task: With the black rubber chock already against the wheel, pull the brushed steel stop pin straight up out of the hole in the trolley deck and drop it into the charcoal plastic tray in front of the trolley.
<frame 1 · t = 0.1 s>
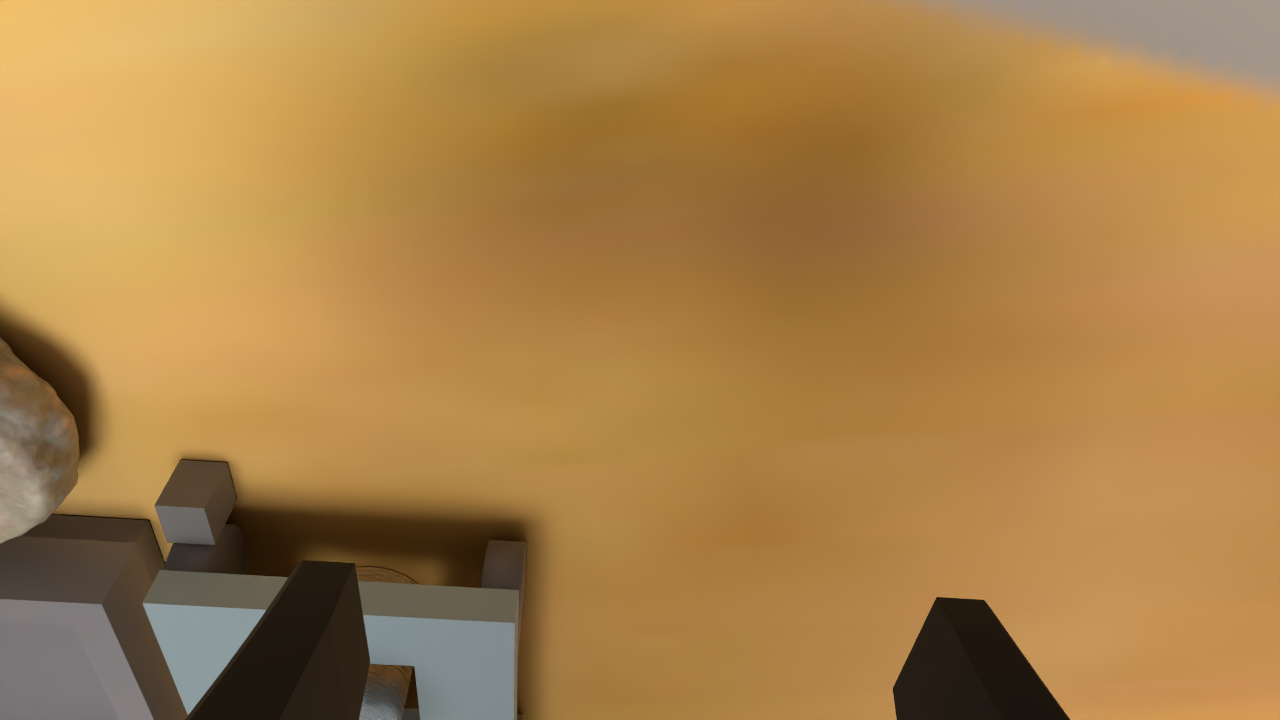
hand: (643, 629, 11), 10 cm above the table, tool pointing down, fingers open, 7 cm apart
trolley: (382, 637, 28), on the table
stop pin: (376, 598, 27), on the table
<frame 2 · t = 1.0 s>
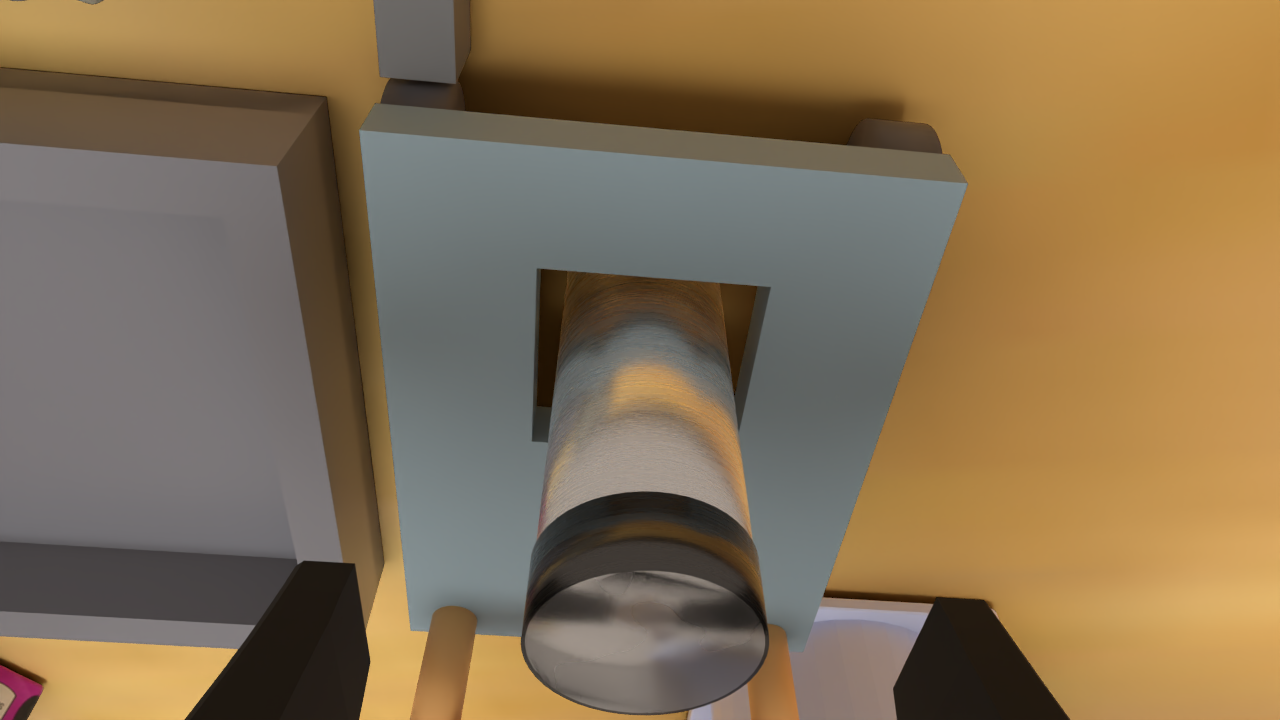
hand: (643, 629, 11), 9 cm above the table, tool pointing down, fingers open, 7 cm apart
trolley: (633, 343, 20), on the table
tray: (61, 355, 20), on the table
stop pin: (642, 265, 18), on the table
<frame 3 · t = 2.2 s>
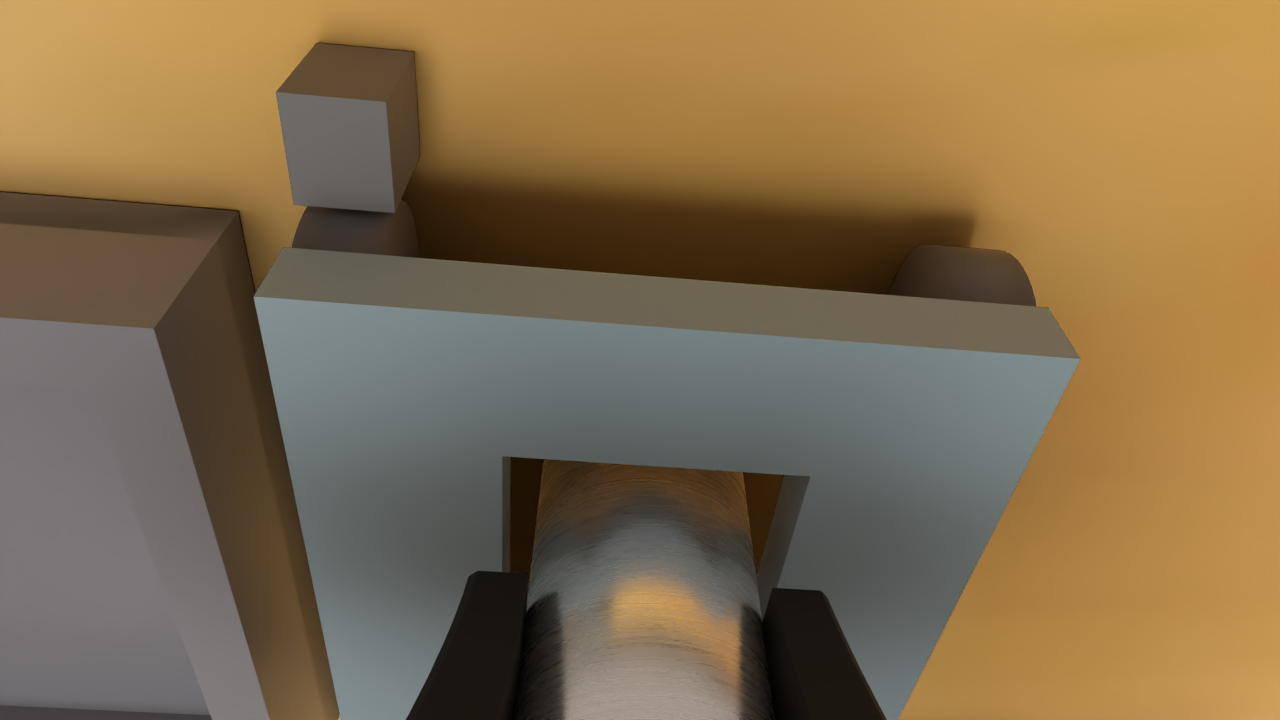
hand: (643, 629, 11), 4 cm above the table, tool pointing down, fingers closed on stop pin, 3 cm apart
trolley: (631, 486, 16), on the table
stop pin: (641, 401, 15), on the table, touching gripper
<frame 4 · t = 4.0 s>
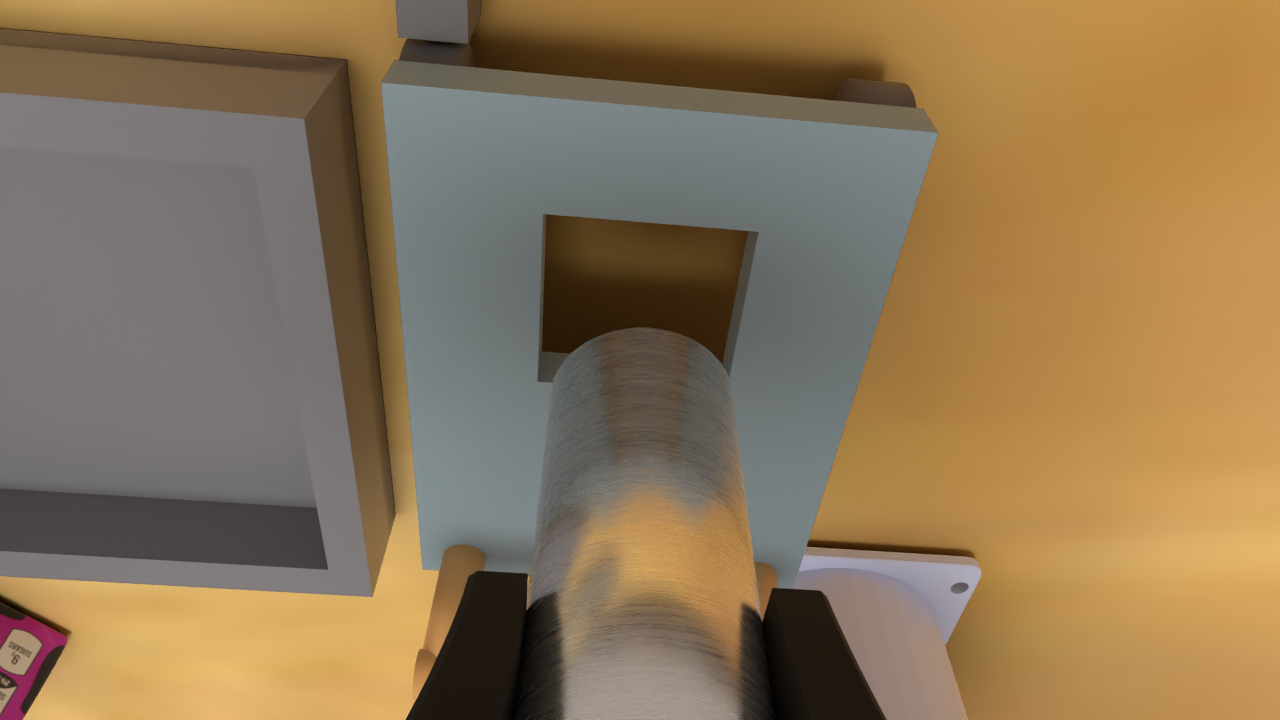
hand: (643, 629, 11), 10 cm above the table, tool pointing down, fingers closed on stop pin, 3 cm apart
trolley: (632, 297, 21), on the table
tray: (93, 309, 21), on the table
stop pin: (641, 400, 15), point 6 cm above the table, touching gripper
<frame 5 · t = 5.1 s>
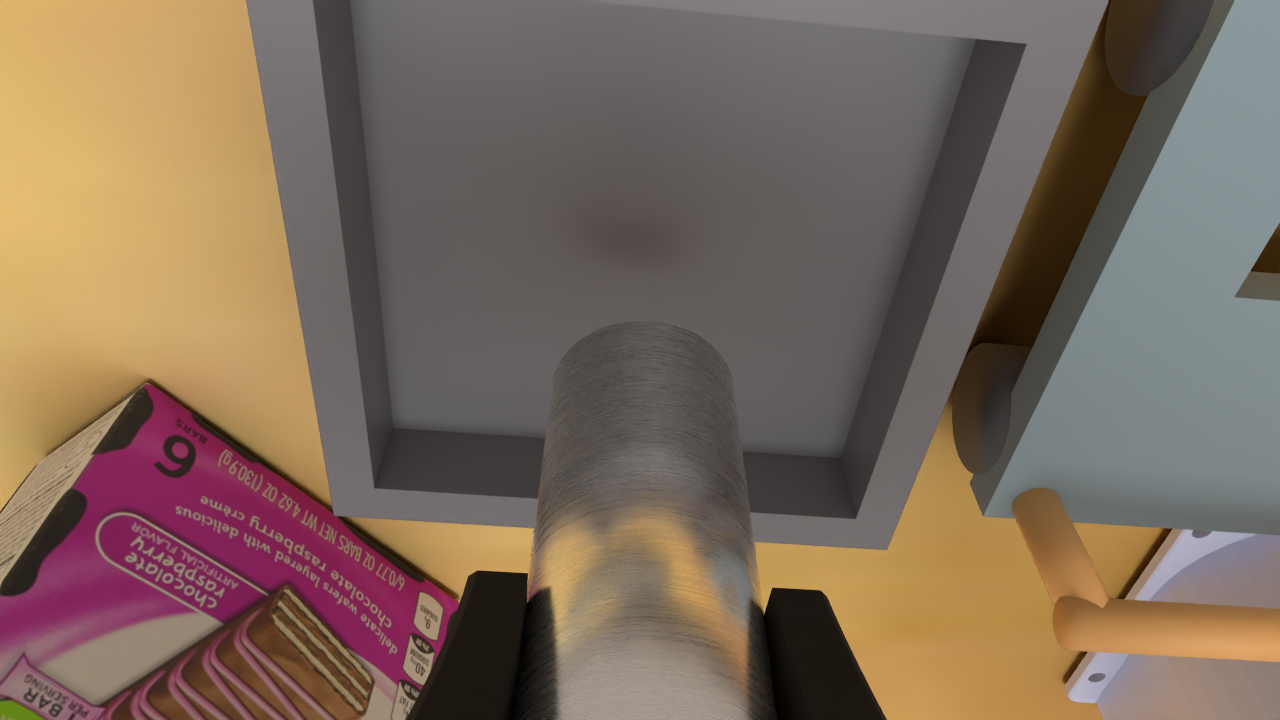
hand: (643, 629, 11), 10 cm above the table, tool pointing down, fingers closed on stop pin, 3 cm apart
trolley: (1233, 218, 19), on the table
tray: (641, 231, 19), on the table
candy bar box: (271, 523, 25), on the table
stop pin: (642, 394, 15), point 6 cm above the table, touching gripper
when the fingers open (7 cm above the table, at t = 5.9 s): stop pin drops 2 cm, resting on tray.
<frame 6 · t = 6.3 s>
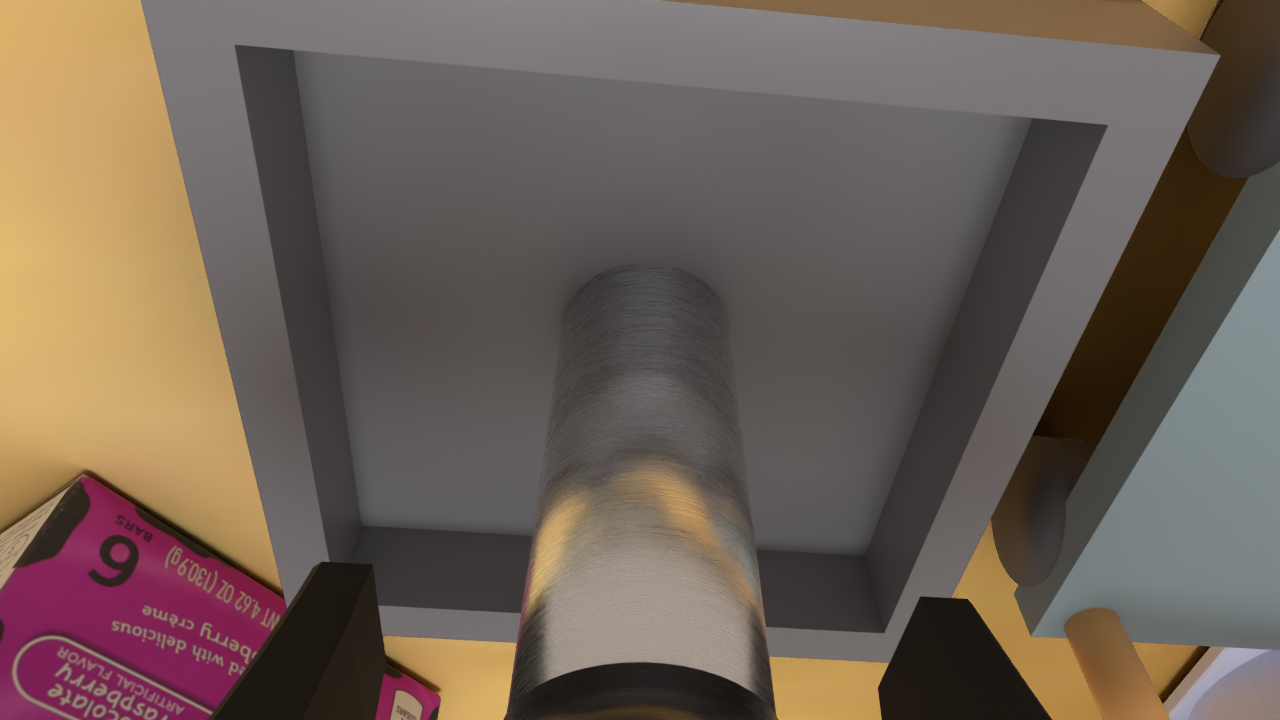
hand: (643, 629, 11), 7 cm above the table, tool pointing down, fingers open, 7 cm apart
tray: (641, 314, 17), on the table
candy bar box: (231, 615, 23), on the table
stop pin: (645, 335, 16), point 1 cm above the table, touching tray
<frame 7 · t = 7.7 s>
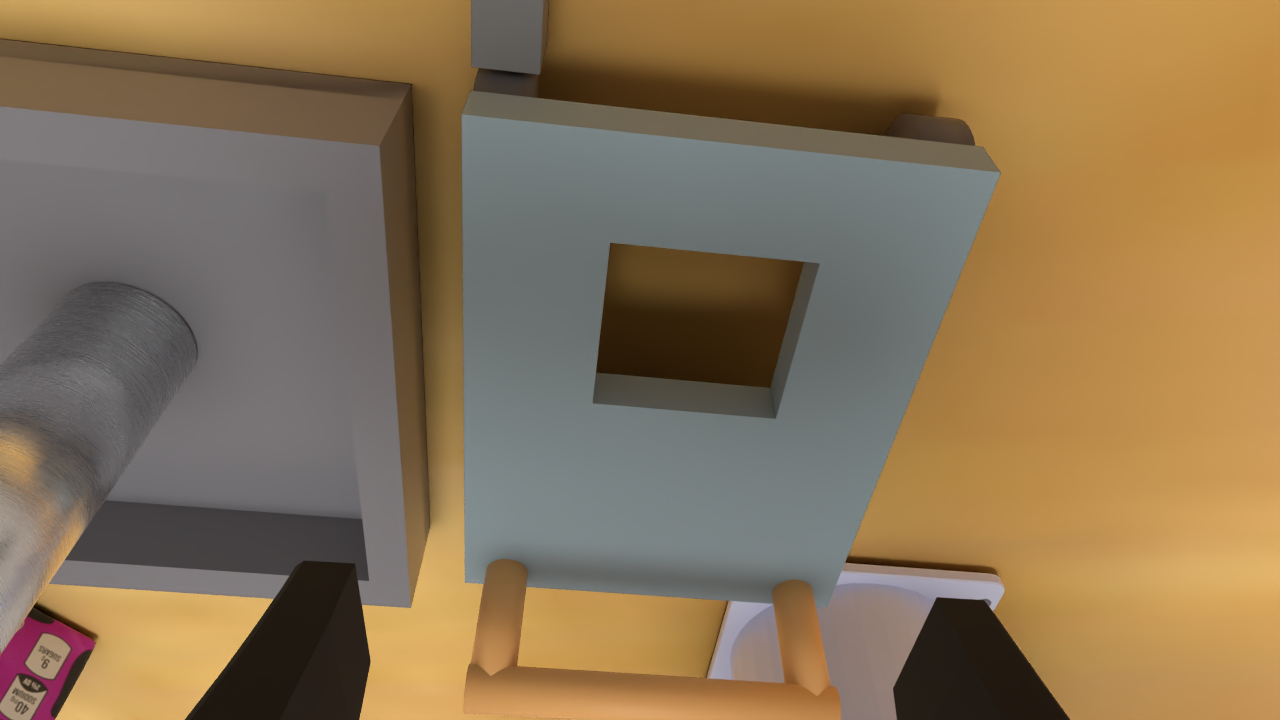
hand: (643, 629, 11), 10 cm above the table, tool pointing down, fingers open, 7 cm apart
trolley: (678, 318, 21), on the table
tray: (143, 321, 21), on the table
stop pin: (128, 337, 20), point 1 cm above the table, touching tray
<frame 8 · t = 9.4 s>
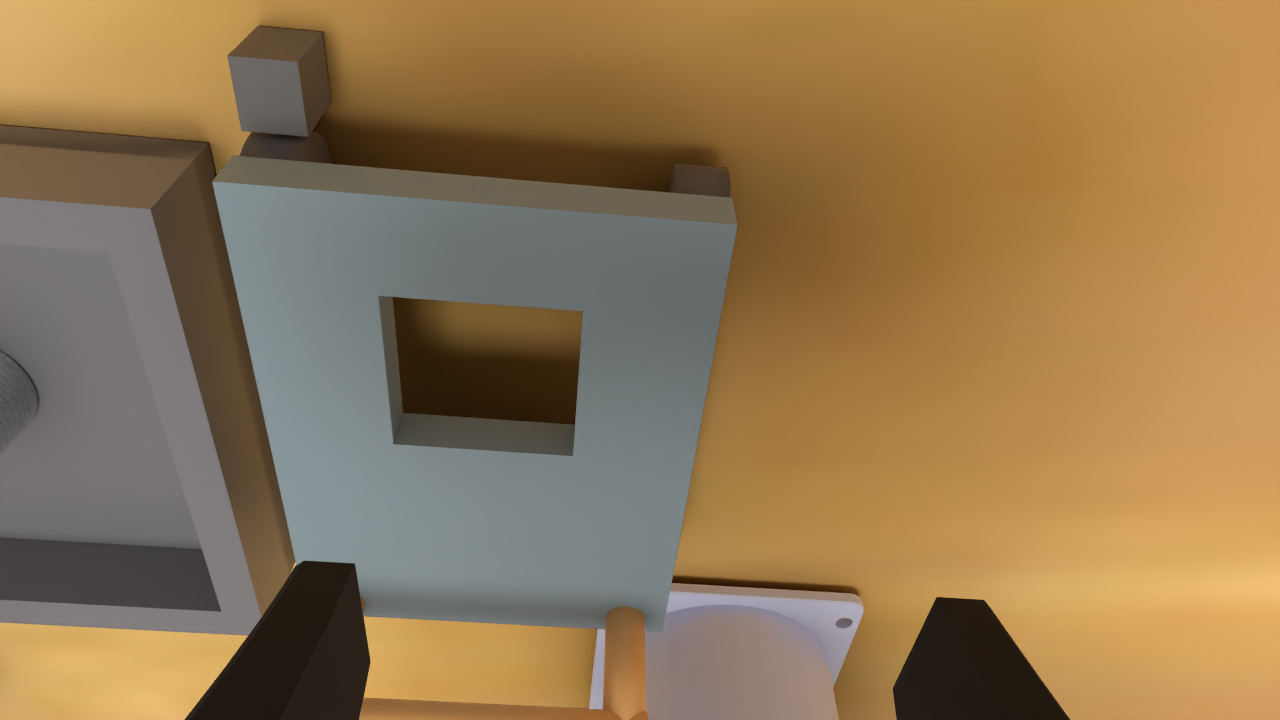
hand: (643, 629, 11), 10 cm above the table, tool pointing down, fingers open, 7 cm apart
trolley: (502, 355, 22), on the table
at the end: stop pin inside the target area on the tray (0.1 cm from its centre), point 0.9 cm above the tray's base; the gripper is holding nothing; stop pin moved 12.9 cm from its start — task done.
